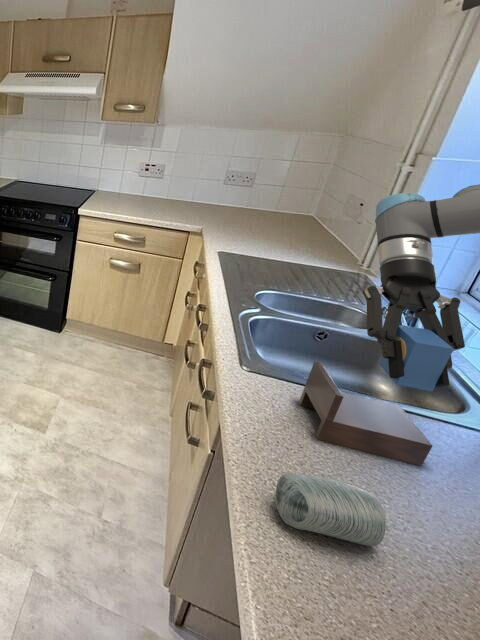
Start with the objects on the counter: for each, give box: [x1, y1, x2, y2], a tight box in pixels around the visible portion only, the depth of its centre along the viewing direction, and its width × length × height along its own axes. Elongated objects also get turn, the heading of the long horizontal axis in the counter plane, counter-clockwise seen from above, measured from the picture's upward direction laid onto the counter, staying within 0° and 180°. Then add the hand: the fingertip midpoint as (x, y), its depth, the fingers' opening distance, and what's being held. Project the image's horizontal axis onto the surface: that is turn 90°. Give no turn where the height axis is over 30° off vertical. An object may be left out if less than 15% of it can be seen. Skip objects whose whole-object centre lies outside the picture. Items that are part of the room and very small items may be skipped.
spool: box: [275, 472, 387, 547], centre depth 64 cm, size 14×10×10 cm
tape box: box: [378, 324, 454, 392], centre depth 76 cm, size 5×7×9 cm
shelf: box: [298, 361, 433, 467], centre depth 83 cm, size 16×12×11 cm
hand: (418, 380), depth 74 cm, fingers closed on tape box, 5 cm apart
